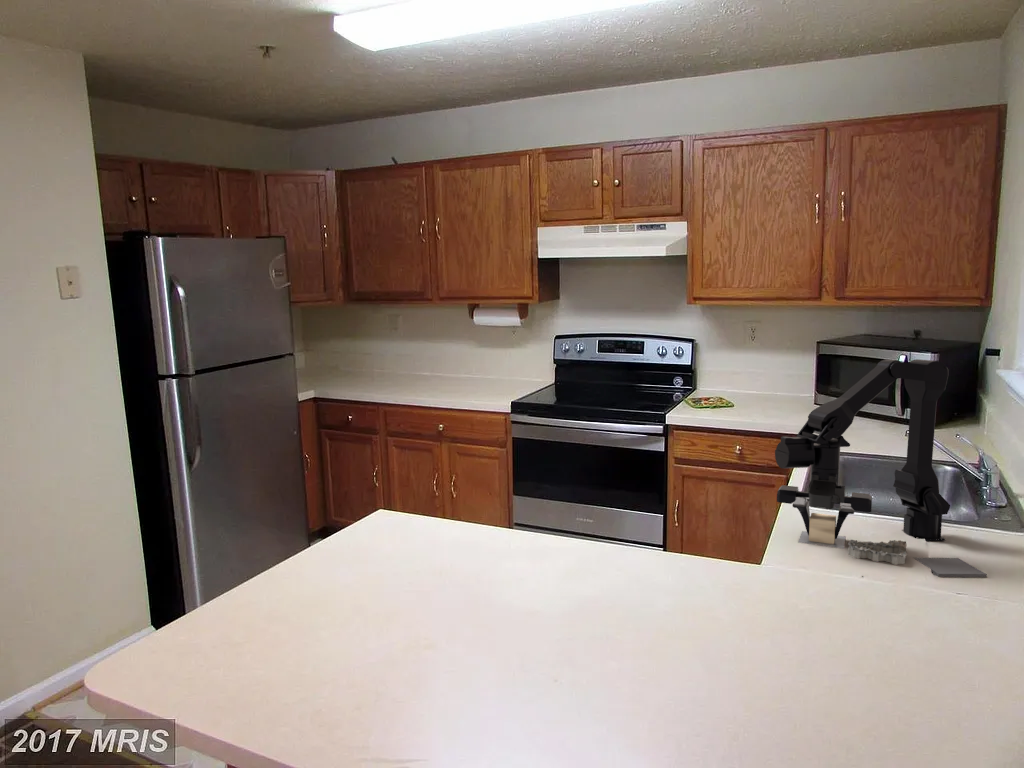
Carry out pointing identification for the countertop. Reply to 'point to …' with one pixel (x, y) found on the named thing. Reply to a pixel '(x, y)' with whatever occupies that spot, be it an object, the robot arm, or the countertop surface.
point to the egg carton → (879, 551)
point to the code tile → (838, 543)
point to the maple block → (822, 528)
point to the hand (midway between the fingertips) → (822, 536)
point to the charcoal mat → (951, 567)
